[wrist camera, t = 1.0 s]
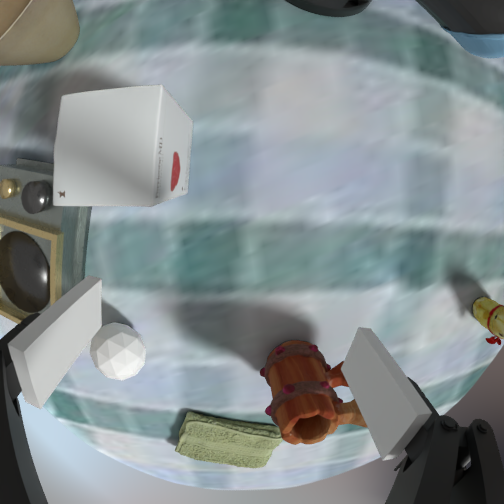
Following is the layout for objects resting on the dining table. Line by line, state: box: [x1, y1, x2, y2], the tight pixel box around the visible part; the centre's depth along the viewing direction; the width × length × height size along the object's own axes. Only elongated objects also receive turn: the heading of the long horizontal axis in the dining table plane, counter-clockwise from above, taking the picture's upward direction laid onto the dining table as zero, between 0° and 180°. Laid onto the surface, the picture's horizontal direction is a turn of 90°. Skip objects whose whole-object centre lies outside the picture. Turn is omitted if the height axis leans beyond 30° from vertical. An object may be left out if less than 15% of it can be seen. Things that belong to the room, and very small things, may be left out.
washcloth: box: [175, 412, 283, 468], centre depth 43 cm, size 13×18×3 cm
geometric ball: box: [90, 322, 146, 381], centre depth 34 cm, size 8×8×8 cm
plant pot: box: [0, 0, 80, 66], centre depth 18 cm, size 15×15×16 cm
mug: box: [260, 340, 367, 445], centre depth 32 cm, size 15×8×15 cm, turn 93°
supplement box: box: [53, 85, 193, 207], centre depth 25 cm, size 9×9×15 cm
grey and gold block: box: [0, 158, 92, 324], centre depth 30 cm, size 22×15×8 cm
